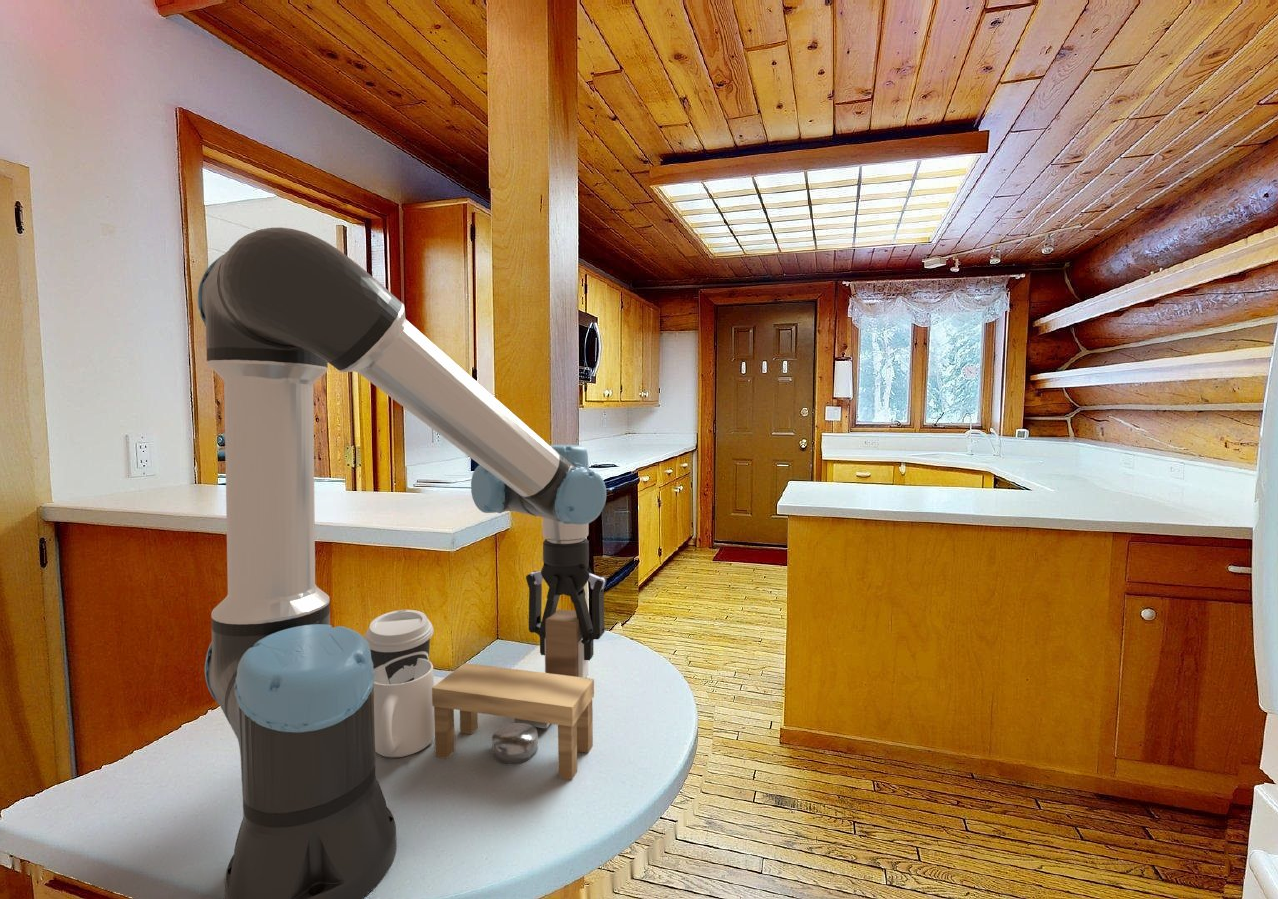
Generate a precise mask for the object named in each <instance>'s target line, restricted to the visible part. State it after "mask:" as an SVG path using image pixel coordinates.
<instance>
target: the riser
mask: <svg viewBox="0 0 1278 899" xmlns="http://www.w3.org/2000/svg"><path fill="white" fill-rule="evenodd" d="M594 697H595V679H594V678H588V677H587V678H583V677H575V676H566V675H558V674H550V673H545V672H542V671H541V672H540V671H533V670H525V669H517V668H516V669H515V668H508V667H499V666H492V665H484V664H478V663H477V664H475V663H468V662H464V663H462V665H460V666H459V667H458V668H456V669H454V670H453V671H452V672H451V673H450V674H448V675H447V676H446V677H444V678H443V679H442V680H440V681H439V682H437V683H436V684H434V687H432V706H434V720H435V736H434V748H435V753H434V755H435V757H437V758H443V759H448V758H449V757H450V756H451V755H452V754H453V753H455V751H456V748H455V747H456V744H455V743H456V741H455V740H456V739H455V710H457V711H459V730H460V732H459V733H460V734H467V735H473V734H474V732H476V731H477V729H478V728H479V722H478V721H479V719H478V718H479V717H478V714H482V715H483V714H484V715H491V716H496V717H504V718H511V719H515V718H517V719H523V720H530V721H537V722H544V723H550V725H551V724H553V725H557V740H558V741H557V745H558V746H557V750H558V751H557V752H558V754H557V756H558V757H557V758H558V778H559V779H564V780H565V779H566V780H571V781H572V780H573V779H574V777H575V776H576V774H577V772H578V752H580V753H586V754H589V753H590V751H591V749H592V747H594V740H593V739H594V738H593V737H594V734H593V733H594V731H593V727H594V726H593V725H594V724H593V723H594V722H593V721H594V720H593V715H594V714H593V712H594V710H593V709H594V708H593V699H594Z"/></svg>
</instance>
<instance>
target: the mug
mask: <svg viewBox="0 0 1278 899" xmlns="http://www.w3.org/2000/svg"><path fill="white" fill-rule="evenodd" d="M374 670H375V677H374V683H373V689H374V725H375V753H377V754H379V755H381V756H382V757H386V758H402V757H407V756H410V755H413V754H415V753H416V754H417V753H418V752H420V751H422V750H424V749H425V748H426V747H428V746H429V745H430V744H431V743H432V742H433V740H434V739H435V720H434V706H432V687H434V686H435V683H434V681H435V680H434V665H433V663H432V662H431V661H430V660H429V661H428V660H426V659H422V658H418V659H417V664H416V670H415V676H414V680H413V681H409V682H405V683H401V684H390V683H389V680H388V677H387V673H386V670H385V666H384V665H380V666H378V667H377V668H375V669H374Z"/></svg>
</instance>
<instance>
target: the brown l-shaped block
mask: <svg viewBox="0 0 1278 899" xmlns="http://www.w3.org/2000/svg"><path fill="white" fill-rule="evenodd" d="M581 639H582V635H581V631H580V627H579V620H578V619H577V615H576V612H575V610H569V609H568V610H567V609H556V612H555V613H554V614H553V615H552V616H550V617H548V618H547V619H546V673H550V674H558V675H566V676H575V677H578V642H579V641H580V640H581ZM586 678H588V676H587V677H586ZM514 723H525V724H529V725H532V726H534V727H535V728H541V729H548V727H550V725H551V724H550V723H544V722H537V721H530V720H523V719H517V718H514Z"/></svg>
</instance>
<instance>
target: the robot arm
mask: <svg viewBox="0 0 1278 899" xmlns="http://www.w3.org/2000/svg"><path fill="white" fill-rule="evenodd" d="M197 307H198V310H199V315H200V317H201V319H202V320H201V321H202V322H203V324H204V327H205V348H206V365H207V366H208V368H210V369H211V370H212V371H214V372H215V373H216V374H217V375H218V376H219V377H220V378H221V380H222V381H223V384H224V385H223V388H224V390H223V391H224V392H223V394H224V446H225V448H224V451H225V453H224V454H225V499H226V500H225V503H226V504H225V508H226V515H225V516H226V564H227V569H226V571H227V572H226V573H227V594H226V596H225V598H223V600H222V601H220V602H219V603H218V604H217V605H216V606H215V607H214V608H213V610H212V611H211V616H210V617H211V641H210V644H209V646H208V649H207V652H206V655H205V656H206V657H205V661H204V662H205V663H204V676H205V682H206V686H207V688H208V691H209V693H210V694H211V696H212V699H214V700H215V702H216V703H217V704H218V705H219V707H220V708H221V710H222V712H223V714H224V716H225V717H226V720H227V722H228V724H229V725H230V728H231V729H232V731H233V733H234V735H235V737H236V739H237V742H238V747H239V754H240V770H241V791H242V795H241V796H242V809H243V813H242V814H243V815H242V816H243V817H242V820H241V823H240V826H239V830H238V833H237V836H236V841H235V845H234V849H233V850H234V851H233V855H231V858H230V861H229V862H228V865H227V868H226V870H225V871H226V872H225V874H224V875H225V876H224V881H223V884H224V885H223V887H224V890H223V891H224V899H364V898H365V897H366V896H367V895H368V894H369V893H370V892H372V890H373V889H375V887H376V886H377V885H379V884H380V883H381V881H382V880H383V878H384V877H385V876H386V875H387V873H389V872H388V871H389V870H390V868H391V867H392V865H393V862H394V861H395V858H396V853H397V826H396V825H397V824H396V820H395V817H394V815H393V813H392V811H391V809H390V808H389V807H388V806H387V802H386V798H385V796H384V793H383V790H382V788H381V786H380V783H379V781H378V779H377V771H376V768H377V766H376V751H375V725H374V689H373V683H374V677H375V670H374V668H373V666H374V665H373V662H372V659H371V651H370V647H369V645H368V643H367V641H366V640H365V638H364V637H365V636H363V635H362V634H360V633H359V632H358V631H355V630H354V629H351V628H349V627H345V626H343V625H338V626H335V627H333V626H332V625H331V607H330V606H331V605H330V604H331V602H330V598H331V597H330V596H329V595H328V594H327V593H326V592H324V591H323V590H322V589H321V588H320V587H318V586H317V584H316V546H315V545H316V541H315V540H316V535H315V534H316V533H315V532H316V531H315V530H316V529H315V528H316V527H315V524H316V523H315V522H316V521H315V520H316V519H315V439H314V438H315V436H314V435H315V431H314V429H315V427H314V426H315V425H314V423H315V422H314V417H315V416H314V411H315V410H314V385H315V384H316V382H317V381H319V379H321V378H322V376H324V375H325V374H326V373H327V372H328V368H329V367H328V365H331V366H332V367H333V368H334V369H337V371H338V372H340V373H350V372H351V373H352V372H355V373H358V374H359V375H360V376H362V377H363V378H365V379H366V380H367V381H369V383H371V384H372V385H374V386H375V387H376V388H378V389H379V390H380V391H382V392H383V393H384V394H386V395H387V396H388V397H390V398H391V399H392V400H393V401H395V402H396V403H397V404H399V405H400V406H402V407H403V408H404V409H405V410H407V411H408V412H409V413H411V414H412V415H414V416H415V417H417V419H419V420H420V421H421V422H423V423H424V424H425V425H426V426H428V427H429V428H430V429H432V430H433V431H435V432H436V433H437V434H439V435H440V436H441V437H443V439H445V440H447V441H448V442H449V443H450V444H451V445H453V446H455V447H456V448H457V449H458V450H460V451H461V452H462V453H464V454H465V455H467V456H468V457H469V458H470V459H471V460H473V461H474V462H476V463H477V464H478V466H477V467H476V468H475V469H474V471H473V472H472V476H471V480H470V491H471V497H472V501H473V502H474V504H475V507H476V508H477V509H478V510H479V511H480V512H482V513H485V514H495V513H497V514H502V513H504V512H516V513H520V514H521V513H522V514H526V515H530V516H533V517H540V518H542V537H543V538H544V540H543V541H542V562H543V566H542V568H541V569H540V570H539V571H537V570H534V571H532V572H530V573H529V574H527V575H526V577H525V580H526V583H527V586H528V631H529V633H531V634H532V633H533V634H534V633H535V635H537V636H539V653H540V656H544V673H546V619H547V618H548V617H550V616H552V615H553V614H554V613H555V612H556V611H557V610H558V609H557V608H558V604H559V601H560V596H561V595H565V596H567V597H570V601H571V603H573V607H574V611H575V612H576V615H577V619H578V620H579V627H580V631H581V635H582V639H581V640H580V641H579V642H578V677H583V678H586V677H587V678H588V676H589V661H591V659H592V658H593V657H594V640H599V639H601V637H602V636H603V635H604V633H605V631H606V630H605V627H606V626H605V598H604V596H605V595H604V593H605V592H604V590H605V588H606V587H605V586H606V584H607V581H608V580H607V577H606V576H605V575H601V576H598V575H596V574H593V573H592V570H591V568H590V566H589V562H590V561H589V560H590V558H589V557H590V550H589V549H590V548H589V547H590V546H589V545H590V544H589V542H590V541H589V540H588V539H587V537H588V536H589V533H590V532H589V531H590V530H589V527H590V526H589V524H591V523H592V522H593V521H595V520H596V519H598V517H599V516H600V515H601V512H603V509H604V508H605V506H606V501H607V487H606V483H605V481H604V479H603V477H602V476H601V475H600V474H599V473H598V472H597V471H595V470H592V469H589V455H588V454H589V453H588V450H587V448H586V447H585V446H584V445H579V444H551V445H550V444H549V443H547V442H546V441H545V440H544V439H543V438H542V437H541V436H540V435H538V433H536V432H535V431H534V430H533V429H532V428H530V427H529V425H527V424H526V423H525V422H524V421H522V419H520V418H519V417H518V416H517V415H516V414H515V413H514V412H512V410H510V409H508V407H507V406H506V405H504V403H502V402H501V401H500V400H499V399H498V398H496V397H495V396H494V395H493V394H492V393H491V392H490V391H489V390H488V389H486V388H485V387H484V386H482V385H481V384H480V382H478V381H477V380H476V379H475V378H474V377H473V376H472V375H470V374H469V373H468V372H467V371H465V370H464V369H463V368H462V367H461V366H460V365H459V364H458V363H456V362H455V360H453V359H452V358H451V357H450V356H448V355H447V353H445V352H444V351H443V350H442V349H441V348H440V347H438V346H437V344H435V343H433V341H432V340H430V339H429V338H428V337H427V336H426V335H425V334H423V333H422V332H421V331H420V330H419V329H418V328H417V327H416V326H414V324H412V323H411V322H410V321H409V320H408V319H406V310H405V304H404V303H403V302H402V301H400V299H398V298H397V297H396V296H395V295H394V294H393V293H392V292H391V291H390V290H388V289H387V288H386V287H385V286H384V285H383V284H382V283H381V282H380V281H379V280H377V279H376V278H375V277H373V276H372V275H371V274H370V273H369V272H368V271H366V270H365V269H364V268H363V267H362V266H360V265H359V264H358V263H356V262H355V261H354V260H352V258H350V257H349V256H347V255H346V254H345V253H343V252H342V251H341V250H339V249H338V248H336V247H335V246H333V245H332V244H330V243H329V242H328V241H326V240H323V239H321V238H319V237H317V236H315V235H313V234H311V233H309V232H306V231H302V230H298V229H294V228H290V227H289V228H288V227H281V226H279V227H268V228H260V229H258V230H255V231H253V232H250V233H248V234H246V235H243V237H241V238H239V239H238V240H237V241H236V242H234V244H233V245H232V246H230V248H229V249H228V250H227V251H226V252H225V253H224V254H222V255H221V256H219V257H218V258H216V259H215V260H214V261H213V262H212V263H211V264H210V265H209V266H208V268H206V270H205V272H204V274H203V275H202V277H201V279H200V283H199V284H198V290H197ZM543 580H544V582H545V583H546V585H547V586H548V591H547V596H546V602H545V605H544V606H545V607H544V610H543V614H542V607H543V606H542V603H543V602H542V600H543V598H542V594H543V590H542V589H543V588H542V583H543ZM588 582H589V584H590V589H591V590H592V592H591V605H592V606H591V610H592V611H591V612H592V613H591V614H590V612H589V607H588V604H587V600H586V591H585V585H587V583H588ZM591 616H592V619H591Z"/></svg>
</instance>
